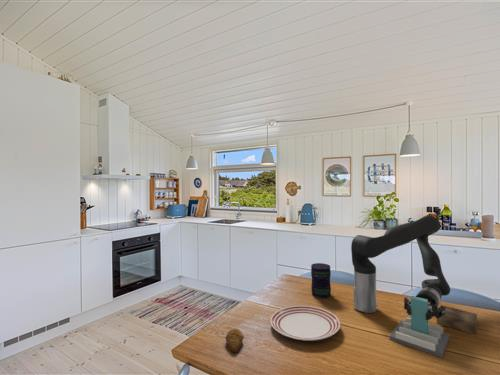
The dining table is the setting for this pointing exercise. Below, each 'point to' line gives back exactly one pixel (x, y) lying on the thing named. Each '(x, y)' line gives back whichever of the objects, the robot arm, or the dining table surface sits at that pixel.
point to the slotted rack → (421, 338)
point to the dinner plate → (305, 323)
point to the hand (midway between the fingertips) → (417, 314)
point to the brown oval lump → (234, 339)
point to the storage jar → (321, 280)
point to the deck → (459, 319)
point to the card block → (419, 315)
